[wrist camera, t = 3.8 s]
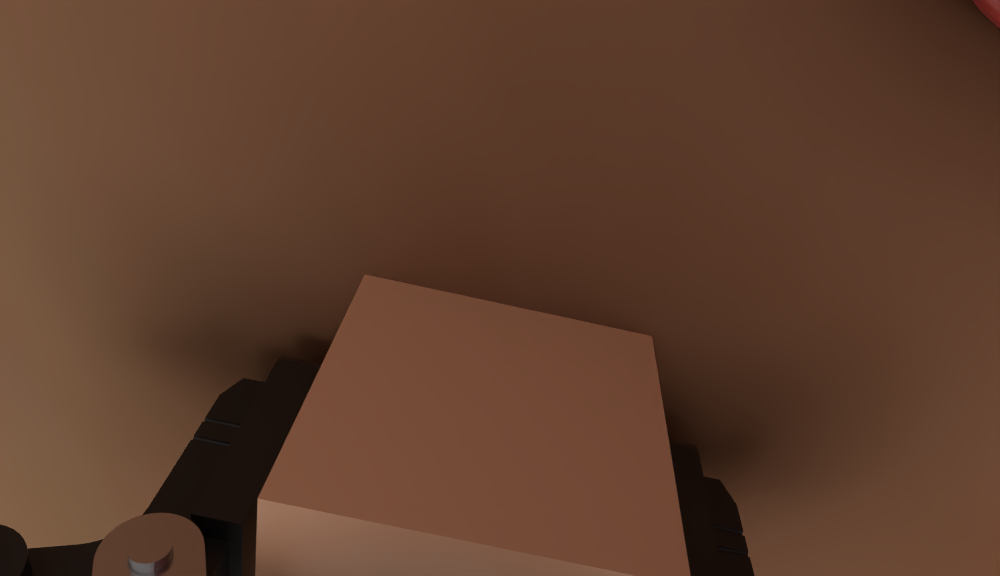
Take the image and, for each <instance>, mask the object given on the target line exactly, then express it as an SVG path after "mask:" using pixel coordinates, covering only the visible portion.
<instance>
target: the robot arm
mask: <svg viewBox="0 0 1000 576" xmlns="http://www.w3.org/2000/svg"><path fill="white" fill-rule="evenodd" d="M320 367H321V364H317V363H312V362H307V361H303V360H298V359H293V358H289V357H284V356H281V357H280V358H279V359H278V360H277V362H276V364H275V365H274V367H273V369H272V371H271V372H270V374H269V376H268V378H267V379H266V381H265V383H264V382H259V381H255V380H250V379H245V378H243V379H242V380H240V381H239V382H238V383H236V384H235V385H233V386H232V387H230V388H229V389H228V390H226V391H225V392H223V393H222V394H220V395H219V397H218V398H217V400H216V402H215V403H214V405H213V406H212V408H211V409H210V411H209V413H208V414H207V416H206V418H205V421H204V422H202V424H201V425H200V427H199V428H198V430H197V431H196V433H195V435H194V438H193V440H191V441H190V443H189V444H188V446H187V447H186V449H185V450H184V452H183V454H182V455H181V457H180V458H179V460H178V461H177V463H176V465H175V466H174V468H173V469H172V471H171V472H170V474H169V476H168V477H167V479H166V480H165V482H164V483H163V485H162V487H161V488H160V490H159V491H158V493H157V495H156V496H155V498H154V499H153V501H152V502H151V504H150V506H149V507H148V508H147V510H146V511H145V512H144V514H143V515H141V516H138V517H135V518H132V519H130V520H128V521H126V522H124V523H122V524H121V525H119V526H117V527H116V528H115V529H113V530H112V531H111V532H110V533H109V534H108V535H107V536H106V537H105V538H104V539H102V540H99V541H95V542H91V543H86V544H78V545H67V546H54V547H42V548H30V549H27V545H26V543H25V541H24V539H23V538H22V536H21V535H20V534H19V533H18V532H16V531H15V530H14V529H11V528H9V527H7V526H4V525H0V576H255V568H256V535H257V502H258V497H259V495H260V492H261V490H262V488H263V486H264V484H265V482H266V480H267V478H268V476H269V474H270V471H271V469H272V467H273V465H274V463H275V461H276V459H277V457H278V455H279V453H280V451H281V448H282V446H283V444H284V442H285V440H286V438H287V436H288V434H289V432H290V430H291V428H292V425H293V423H294V421H295V419H296V417H297V415H298V413H299V411H300V409H301V407H302V404H303V402H304V400H305V398H306V396H307V394H308V392H309V390H310V388H311V386H312V384H313V381H314V379H315V377H316V375H317V373H318V371H319V369H320ZM669 445H670V451H671V457H672V463H673V470H674V476H675V482H676V488H677V495H678V501H679V507H680V513H681V519H682V526H683V532H684V538H685V544H686V550H687V557H688V563H689V569H690V575H691V576H754V572H753V568H752V564H751V560H750V557H748V548H747V544H746V540H745V536H743V535H742V533H743V528H742V524H741V520H740V516H739V512H738V508H737V505H736V503H735V502H734V500H733V499H732V497H731V496H730V494H729V493H728V491H727V490H726V488H725V487H724V486H723V484H722V483H721V481H720V480H718V479H713V478H708V477H704V476H703V472H702V467H701V462H700V457H699V453H698V449H697V447H696V446H695V445H692V444H688V443H683V442H678V441H674V440H669Z"/></svg>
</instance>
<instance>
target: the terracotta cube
mask: <svg viewBox="0 0 1000 576" xmlns="http://www.w3.org/2000/svg"><path fill="white" fill-rule="evenodd" d="M255 576H691V575H690V569H689V563H688V557H687V550H686V544H685V538H684V532H683V526H682V519H681V513H680V507H679V501H678V495H677V488H676V482H675V476H674V470H673V463H672V457H671V451H670V445H669V439H668V432H667V426H666V420H665V414H664V407H663V401H662V395H661V389H660V383H659V376H658V370H657V364H656V358H655V352H654V345H653V339H652V336H649V335H645V334H640V333H636V332H631V331H626V330H622V329H617V328H612V327H608V326H603V325H598V324H594V323H589V322H584V321H580V320H575V319H570V318H566V317H561V316H557V315H552V314H547V313H543V312H538V311H533V310H529V309H524V308H519V307H515V306H510V305H505V304H501V303H496V302H491V301H487V300H482V299H477V298H473V297H468V296H464V295H459V294H454V293H450V292H445V291H440V290H436V289H431V288H426V287H422V286H417V285H412V284H408V283H403V282H398V281H394V280H389V279H384V278H380V277H375V276H371V275H366V274H365V275H364V277H363V279H362V281H361V283H360V285H359V287H358V289H357V291H356V294H355V296H354V298H353V300H352V302H351V304H350V306H349V308H348V310H347V312H346V314H345V317H344V319H343V321H342V323H341V325H340V327H339V329H338V331H337V333H336V335H335V337H334V340H333V342H332V344H331V346H330V348H329V350H328V352H327V354H326V356H325V358H324V361H323V363H322V365H321V367H320V369H319V371H318V373H317V375H316V377H315V379H314V381H313V384H312V386H311V388H310V390H309V392H308V394H307V396H306V398H305V400H304V402H303V404H302V407H301V409H300V411H299V413H298V415H297V417H296V419H295V421H294V423H293V425H292V428H291V430H290V432H289V434H288V436H287V438H286V440H285V442H284V444H283V446H282V448H281V451H280V453H279V455H278V457H277V459H276V461H275V463H274V465H273V467H272V469H271V471H270V474H269V476H268V478H267V480H266V482H265V484H264V486H263V488H262V490H261V492H260V495H259V497H258V502H257V535H256V568H255Z"/></svg>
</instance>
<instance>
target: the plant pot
mask: <svg viewBox="0 0 1000 576" xmlns="http://www.w3.org/2000/svg"><path fill="white" fill-rule="evenodd" d="M972 1H973V2H974V3H975V5H976V6H977V7H978V8H979V10H980V11H981V12H982V13H983V14H984V15H985V16H986V17H987V18H988V19H989V20H990V21H991V22H993V23H994V24H995V25H996V26H997V27H998V28H999V29H1000V0H972Z"/></svg>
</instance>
